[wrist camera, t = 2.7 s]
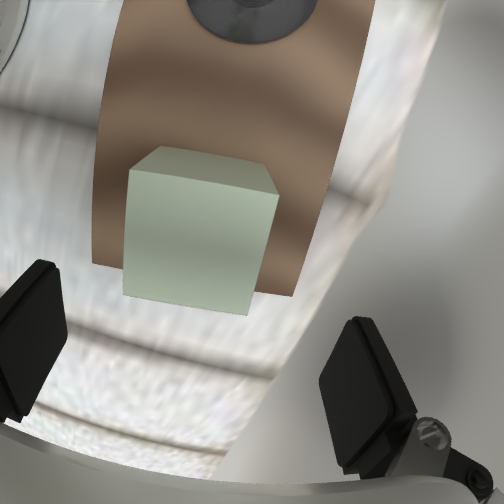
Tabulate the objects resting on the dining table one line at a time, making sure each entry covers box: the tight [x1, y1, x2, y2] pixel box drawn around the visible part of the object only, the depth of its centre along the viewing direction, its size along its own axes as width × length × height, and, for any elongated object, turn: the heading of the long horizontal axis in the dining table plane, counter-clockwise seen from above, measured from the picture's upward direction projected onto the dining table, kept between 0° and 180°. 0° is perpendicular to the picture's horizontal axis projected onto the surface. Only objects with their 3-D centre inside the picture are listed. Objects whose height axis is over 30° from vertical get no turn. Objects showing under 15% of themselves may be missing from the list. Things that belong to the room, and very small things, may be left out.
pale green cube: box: [123, 146, 279, 316], centre depth 16 cm, size 6×6×6 cm
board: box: [92, 0, 375, 297], centre depth 13 cm, size 24×14×10 cm, turn 167°
